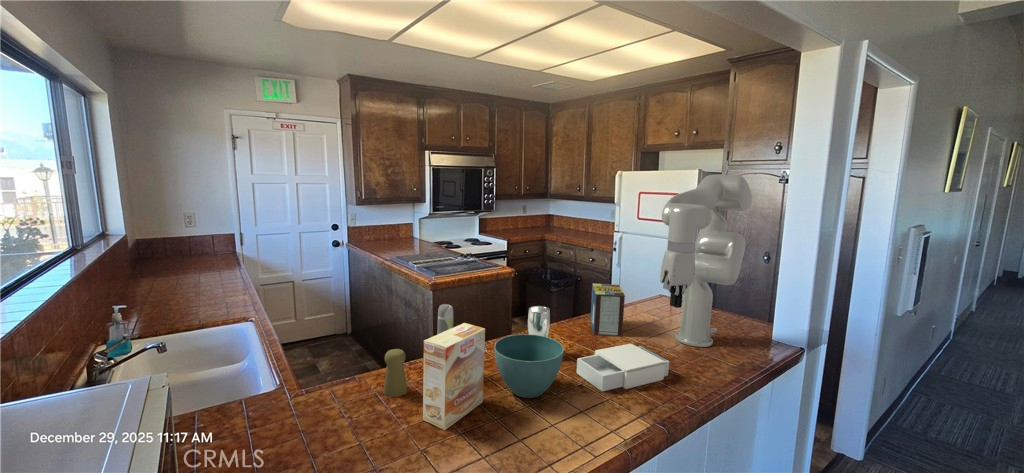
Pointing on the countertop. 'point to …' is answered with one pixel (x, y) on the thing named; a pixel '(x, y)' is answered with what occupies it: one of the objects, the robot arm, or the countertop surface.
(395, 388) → the olive green pepper shaker
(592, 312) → the protein box
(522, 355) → the teal bowl
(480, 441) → the countertop surface
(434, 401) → the coffeecake box
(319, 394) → the countertop surface
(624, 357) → the sleeve
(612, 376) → the white sliding drawer box
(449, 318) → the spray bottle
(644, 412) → the countertop surface
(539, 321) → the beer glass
